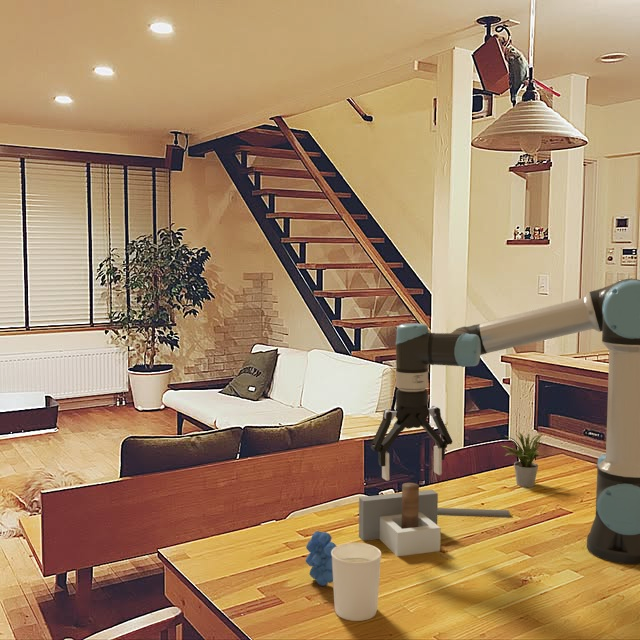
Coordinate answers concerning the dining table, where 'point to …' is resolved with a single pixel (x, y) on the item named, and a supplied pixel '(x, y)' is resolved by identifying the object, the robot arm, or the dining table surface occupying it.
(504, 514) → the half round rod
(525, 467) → the house plant
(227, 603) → the dining table surface
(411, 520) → the dowel
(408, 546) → the white square open box
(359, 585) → the candle holder
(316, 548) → the grapes
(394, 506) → the wall
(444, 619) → the dining table surface
